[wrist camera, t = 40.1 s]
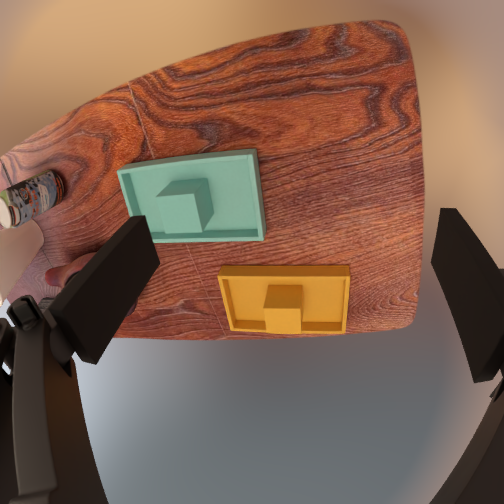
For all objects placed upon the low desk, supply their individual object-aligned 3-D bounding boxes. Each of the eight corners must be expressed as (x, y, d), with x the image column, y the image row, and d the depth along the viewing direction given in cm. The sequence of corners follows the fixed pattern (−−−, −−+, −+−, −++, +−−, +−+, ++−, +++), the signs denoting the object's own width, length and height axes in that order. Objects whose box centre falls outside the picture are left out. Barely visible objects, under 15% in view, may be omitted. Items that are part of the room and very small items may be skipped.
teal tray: (256, 148, 36) (252, 154, 34) (266, 230, 42) (263, 241, 40) (126, 164, 40) (116, 170, 38) (146, 234, 46) (138, 243, 44)
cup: (9, 228, 52) (-40, 271, 39) (21, 194, 46) (-38, 239, 33) (43, 266, 56) (-2, 316, 43) (60, 238, 50) (5, 292, 37)
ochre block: (302, 284, 45) (300, 308, 41) (303, 310, 48) (301, 334, 44) (268, 284, 46) (262, 308, 42) (271, 309, 49) (266, 333, 45)
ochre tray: (348, 265, 43) (350, 276, 40) (344, 321, 49) (345, 333, 46) (222, 265, 47) (217, 276, 44) (234, 319, 53) (230, 330, 50)
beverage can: (68, 205, 46) (21, 244, 36) (39, 191, 45) (-8, 226, 36) (70, 172, 42) (18, 207, 32) (39, 160, 42) (-12, 191, 32)
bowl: (126, 234, 47) (99, 264, 40) (158, 297, 53) (139, 330, 47) (64, 248, 51) (39, 273, 45) (95, 301, 58) (75, 328, 51)
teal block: (207, 177, 39) (193, 193, 35) (214, 213, 41) (202, 232, 37) (171, 181, 40) (155, 196, 36) (179, 215, 42) (165, 233, 38)
